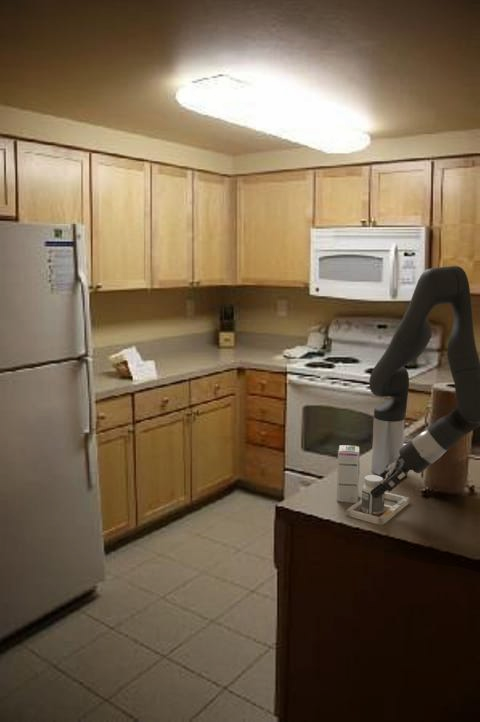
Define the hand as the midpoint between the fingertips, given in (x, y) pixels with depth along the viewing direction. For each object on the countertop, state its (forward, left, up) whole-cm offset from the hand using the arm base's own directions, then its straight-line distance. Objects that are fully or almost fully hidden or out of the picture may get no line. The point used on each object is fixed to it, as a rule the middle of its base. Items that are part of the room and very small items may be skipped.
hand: (374, 489), depth 162 cm
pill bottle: (0, 0, -7) cm, 7 cm away
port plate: (-4, 0, -7) cm, 8 cm away
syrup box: (-6, -10, -7) cm, 14 cm away
